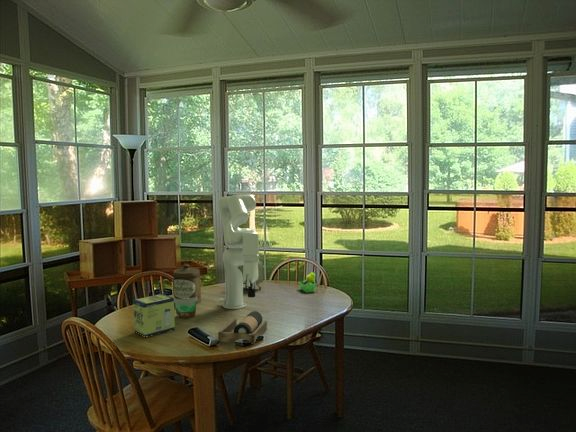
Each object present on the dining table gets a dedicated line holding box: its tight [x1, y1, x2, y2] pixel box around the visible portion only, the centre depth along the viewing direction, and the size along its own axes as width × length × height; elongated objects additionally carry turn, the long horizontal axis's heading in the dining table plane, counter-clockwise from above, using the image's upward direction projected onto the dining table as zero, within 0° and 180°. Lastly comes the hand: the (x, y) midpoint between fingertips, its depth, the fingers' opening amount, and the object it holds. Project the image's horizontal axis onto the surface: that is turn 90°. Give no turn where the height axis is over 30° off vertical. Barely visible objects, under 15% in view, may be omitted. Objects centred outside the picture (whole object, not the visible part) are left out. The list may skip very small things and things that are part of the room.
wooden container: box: [172, 263, 202, 305], centre depth 269 cm, size 15×15×22 cm
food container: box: [173, 296, 198, 320], centre depth 241 cm, size 12×6×10 cm, turn 105°
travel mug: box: [234, 310, 263, 334], centre depth 214 cm, size 8×8×20 cm
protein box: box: [132, 293, 176, 337], centre depth 220 cm, size 10×16×16 cm
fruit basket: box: [298, 271, 317, 293], centre depth 293 cm, size 11×9×11 cm
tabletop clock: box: [238, 260, 265, 290], centre depth 297 cm, size 14×9×25 cm, turn 58°
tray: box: [217, 318, 268, 345], centre depth 213 cm, size 16×20×4 cm
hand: (251, 296), depth 225 cm, fingers closed
